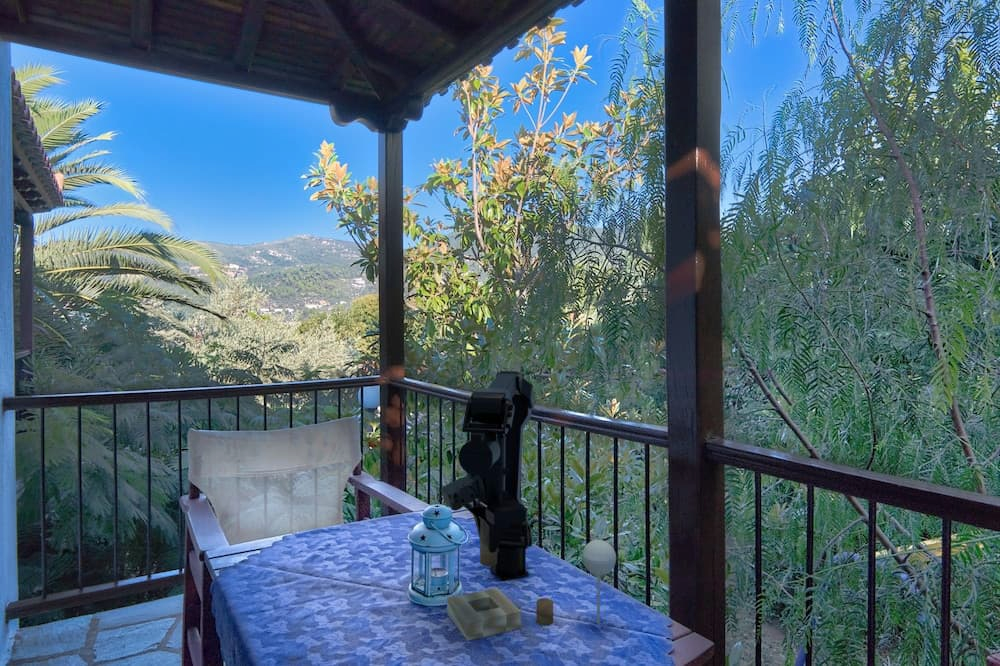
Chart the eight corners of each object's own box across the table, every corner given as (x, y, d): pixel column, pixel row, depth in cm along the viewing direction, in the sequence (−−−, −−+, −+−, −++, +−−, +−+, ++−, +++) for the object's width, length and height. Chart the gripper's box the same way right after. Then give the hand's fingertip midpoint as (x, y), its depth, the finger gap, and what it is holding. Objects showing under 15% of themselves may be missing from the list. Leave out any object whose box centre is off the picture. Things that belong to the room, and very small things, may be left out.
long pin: (492, 558, 111) (493, 514, 111) (499, 564, 109) (500, 519, 108) (477, 561, 110) (477, 517, 110) (484, 567, 107) (484, 521, 107)
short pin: (548, 615, 111) (548, 596, 111) (556, 623, 109) (556, 604, 108) (533, 619, 110) (533, 600, 110) (541, 627, 107) (541, 607, 107)
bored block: (497, 603, 116) (497, 587, 116) (520, 628, 107) (521, 611, 107) (447, 613, 112) (447, 597, 112) (467, 640, 103) (467, 623, 102)
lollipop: (607, 637, 104) (608, 550, 103) (575, 627, 107) (576, 543, 107) (620, 622, 109) (621, 538, 109) (589, 613, 112) (590, 532, 112)
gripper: (428, 455, 114) (428, 538, 114) (467, 478, 97) (466, 576, 97) (483, 450, 119) (482, 530, 119) (529, 471, 102) (528, 565, 102)
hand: (488, 549), depth 109 cm, fingers closed on long pin, 3 cm apart
